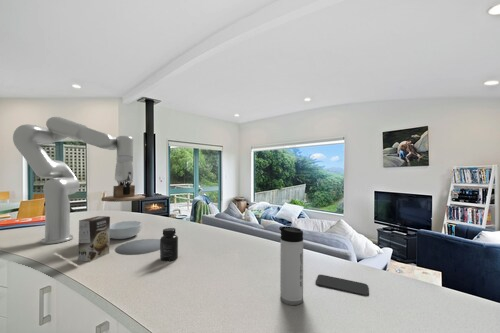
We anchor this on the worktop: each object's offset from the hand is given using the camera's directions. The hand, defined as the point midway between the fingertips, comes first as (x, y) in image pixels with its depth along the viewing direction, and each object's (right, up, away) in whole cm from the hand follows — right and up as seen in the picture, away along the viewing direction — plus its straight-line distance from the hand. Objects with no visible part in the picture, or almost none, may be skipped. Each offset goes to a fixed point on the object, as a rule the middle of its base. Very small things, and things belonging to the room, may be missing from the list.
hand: (124, 193), depth 120 cm
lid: (0, -3, 0) cm, 3 cm away
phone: (+95, -23, -49) cm, 109 cm away
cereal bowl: (0, -23, 0) cm, 23 cm away
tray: (+17, -23, -15) cm, 32 cm away
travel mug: (+78, -23, -57) cm, 99 cm away
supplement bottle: (+34, -23, -29) cm, 50 cm away
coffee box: (+3, -23, -28) cm, 36 cm away
